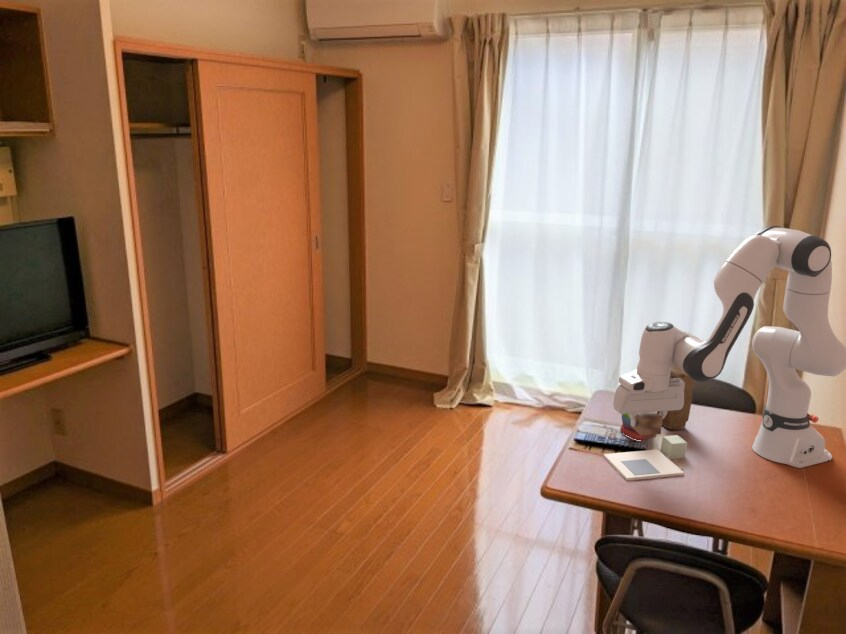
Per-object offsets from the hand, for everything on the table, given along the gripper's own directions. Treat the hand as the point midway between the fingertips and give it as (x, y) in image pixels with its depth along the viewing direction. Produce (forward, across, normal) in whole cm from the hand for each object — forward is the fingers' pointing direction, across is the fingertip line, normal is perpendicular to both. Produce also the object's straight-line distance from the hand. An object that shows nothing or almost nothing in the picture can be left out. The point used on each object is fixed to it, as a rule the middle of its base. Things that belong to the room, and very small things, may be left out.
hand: (645, 424), depth 189 cm
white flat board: (+14, -2, -2) cm, 15 cm away
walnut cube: (+2, 0, 0) cm, 2 cm away
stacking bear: (+14, -11, -22) cm, 29 cm away
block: (+14, -26, -26) cm, 40 cm away
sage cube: (+14, -15, -7) cm, 22 cm away
